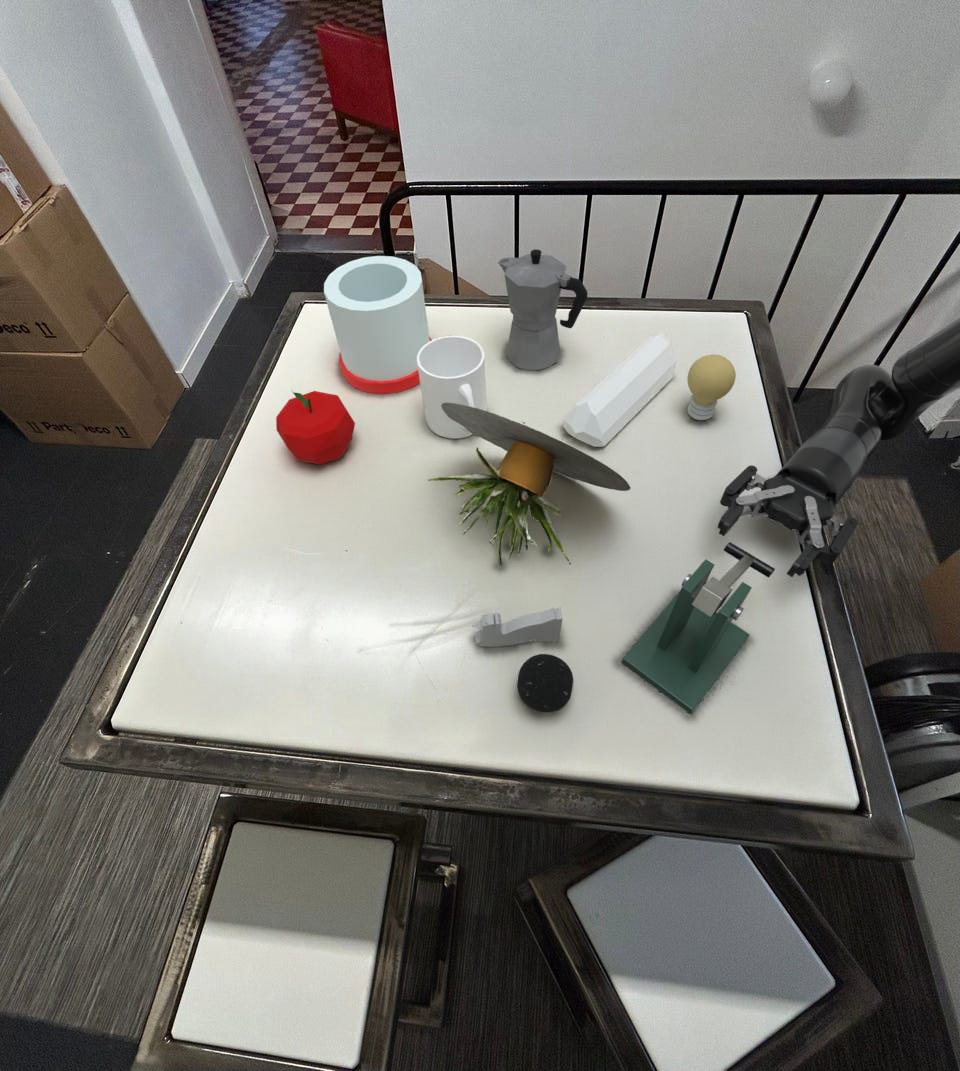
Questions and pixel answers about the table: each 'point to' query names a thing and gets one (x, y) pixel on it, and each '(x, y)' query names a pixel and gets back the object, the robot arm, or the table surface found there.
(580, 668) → the table surface
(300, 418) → the apple
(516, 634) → the grey tape dispenser
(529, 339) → the coffeepot
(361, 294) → the container
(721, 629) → the switch bracket
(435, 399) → the mug
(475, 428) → the upside-down potted plant
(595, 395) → the crystal
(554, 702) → the billiard ball
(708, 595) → the switch lever
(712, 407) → the light bulb
